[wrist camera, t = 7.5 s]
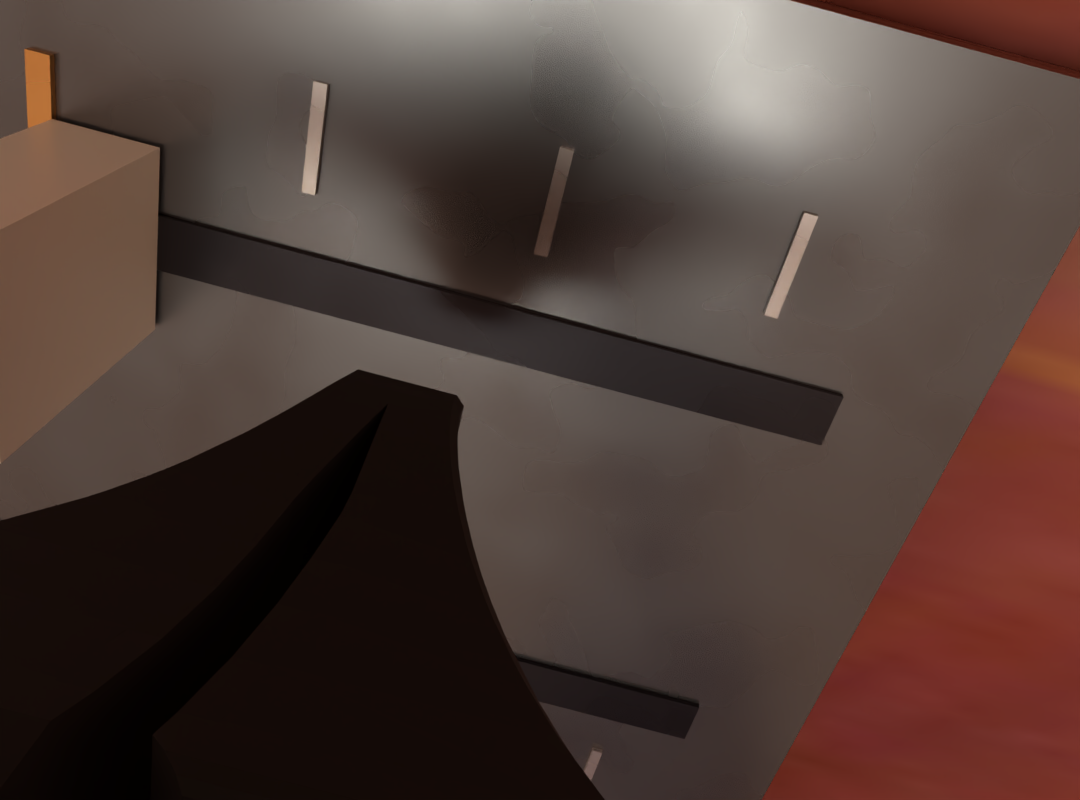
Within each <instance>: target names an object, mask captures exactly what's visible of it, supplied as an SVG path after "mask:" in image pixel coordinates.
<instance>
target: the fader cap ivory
mask: <svg viewBox="0 0 1080 800" xmlns="http://www.w3.org/2000/svg"><path fill="white" fill-rule="evenodd" d="M159 165H160V148H159V147H156V146H152V145H148V144H144V143H141V142H137V141H133V140H129V139H126V138H122V137H118V136H114V135H111V134H107V133H103V132H99V131H95V130H92V129H88V128H84V127H80V126H77V125H73V124H69V123H65V122H62V121H58V120H54V119H51V120H48V121H46V122H43V123H40V124H38V125H35V126H32V127H30V128H27V129H24V130H22V131H19V132H16V133H14V134H11V135H8V136H6V137H3V138H0V464H1V463H2V462H3V461H4V460H5V459H6V458H8V457H9V456H10V455H11V454H12V453H13V452H15V451H16V450H17V449H18V448H19V447H20V446H21V445H23V444H24V443H25V442H26V441H27V440H28V439H29V438H31V437H32V436H33V435H34V434H35V433H36V432H38V431H39V430H40V429H41V428H42V427H43V426H44V425H46V424H47V423H48V422H49V421H50V420H51V419H52V418H54V417H55V416H56V415H57V414H58V413H59V412H61V411H62V410H63V409H64V408H65V407H66V406H67V405H69V404H70V403H71V402H72V401H73V400H74V399H76V398H77V397H78V396H79V395H80V394H81V393H82V392H84V391H85V390H86V389H87V388H88V387H89V386H90V385H92V384H93V383H94V382H95V381H96V380H97V379H99V378H100V377H101V376H102V375H103V374H104V373H105V372H107V371H108V370H109V369H110V368H111V367H112V366H113V365H115V364H116V363H117V362H118V361H119V360H120V359H122V358H123V357H124V356H125V355H126V354H127V353H128V352H130V351H131V350H132V349H133V348H134V347H135V346H136V345H138V344H139V343H140V342H141V341H142V340H143V339H145V338H146V337H147V336H148V335H149V334H150V333H151V332H153V331H154V330H155V312H156V275H157V239H158V202H159Z"/></svg>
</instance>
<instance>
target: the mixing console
mask: <svg viewBox="0 0 1080 800" xmlns="http://www.w3.org/2000/svg"><path fill="white" fill-rule="evenodd" d="M51 119H54V120H58V121H62V122H65V123H69V124H73V125H77V126H80V127H84V128H88V129H92V130H95V131H99V132H103V133H107V134H111V135H114V136H118V137H122V138H126V139H129V140H133V141H137V142H141V143H144V144H148V145H152V146H156V147H159V148H160V165H159V202H158V239H157V275H156V312H155V330H154V331H153V332H151V333H150V334H149V335H148V336H147V337H146V338H145V339H143V340H142V341H141V342H140V343H139V344H138V345H136V346H135V347H134V348H133V349H132V350H131V351H130V352H128V353H127V354H126V355H125V356H124V357H123V358H122V359H120V360H119V361H118V362H117V363H116V364H115V365H113V366H112V367H111V368H110V369H109V370H108V371H107V372H105V373H104V374H103V375H102V376H101V377H100V378H99V379H97V380H96V381H95V382H94V383H93V384H92V385H90V386H89V387H88V388H87V389H86V390H85V391H84V392H82V393H81V394H80V395H79V396H78V397H77V398H76V399H74V400H73V401H72V402H71V403H70V404H69V405H67V406H66V407H65V408H64V409H63V410H62V411H61V412H59V413H58V414H57V415H56V416H55V417H54V418H52V419H51V420H50V421H49V422H48V423H47V424H46V425H44V426H43V427H42V428H41V429H40V430H39V431H38V432H36V433H35V434H34V435H33V436H32V437H31V438H29V439H28V440H27V441H26V442H25V443H24V444H23V445H21V446H20V447H19V448H18V449H17V450H16V451H15V452H13V453H12V454H11V455H10V456H9V457H8V458H6V459H5V460H4V461H3V462H2V463H1V464H0V521H1V520H4V519H8V518H12V517H15V516H19V515H23V514H26V513H30V512H33V511H37V510H41V509H44V508H48V507H52V506H55V505H59V504H63V503H66V502H70V501H74V500H77V499H81V498H84V497H88V496H91V495H94V494H97V493H100V492H103V491H106V490H109V489H112V488H115V487H117V486H120V485H123V484H126V483H129V482H132V481H134V480H137V479H140V478H143V477H146V476H148V475H151V474H153V473H156V472H159V471H161V470H164V469H166V468H169V467H171V466H174V465H176V464H178V463H181V462H183V461H185V460H188V459H190V458H192V457H194V456H196V455H198V454H200V453H203V452H205V451H207V450H209V449H211V448H213V447H215V446H217V445H220V444H222V443H224V442H226V441H228V440H230V439H232V438H234V437H236V436H239V435H241V434H243V433H245V432H247V431H249V430H251V429H252V428H254V427H256V426H258V425H260V424H262V423H264V422H265V421H267V420H269V419H271V418H273V417H275V416H276V415H278V414H280V413H282V412H284V411H286V410H287V409H289V408H291V407H293V406H294V405H296V404H298V403H300V402H301V401H303V400H305V399H307V398H308V397H310V396H312V395H313V394H315V393H317V392H319V391H320V390H322V389H324V388H325V387H327V386H329V385H331V384H332V383H334V382H336V381H338V380H339V379H341V378H343V377H345V376H347V375H349V374H350V373H352V372H354V371H356V370H358V369H359V370H363V371H366V372H370V373H374V374H378V375H382V376H386V377H389V378H393V379H397V380H401V381H405V382H409V383H412V384H416V385H420V386H424V387H428V388H431V389H435V390H439V391H443V392H447V393H451V394H454V395H457V396H458V398H459V399H460V401H461V402H462V404H463V405H464V408H463V413H462V417H461V422H460V426H459V431H458V463H459V473H460V480H461V487H462V495H463V502H464V507H465V512H466V517H467V522H468V526H469V530H470V534H471V539H472V543H473V547H474V550H475V554H476V557H477V561H478V564H479V567H480V571H481V574H482V577H483V580H484V583H485V585H486V588H487V591H488V594H489V597H490V600H491V602H492V605H493V607H494V610H495V612H496V615H497V617H498V619H499V622H500V624H501V627H502V629H503V632H504V634H505V636H506V639H507V641H508V643H509V645H510V647H511V649H512V650H513V652H514V654H515V656H516V658H517V660H518V662H519V664H520V666H521V668H522V670H523V672H524V674H525V676H526V678H527V680H528V682H529V684H530V686H531V688H532V690H533V692H534V694H535V695H536V697H537V699H538V701H539V703H540V705H541V706H542V708H543V709H544V711H545V713H546V714H547V716H548V718H549V719H550V721H551V723H552V724H553V726H554V728H555V729H556V731H557V732H558V734H559V736H560V737H561V739H562V741H563V742H564V744H565V745H566V747H567V748H568V750H569V751H570V753H571V754H572V756H573V757H574V759H575V760H576V761H577V763H578V764H579V765H580V767H581V768H582V770H583V771H584V772H585V774H586V775H587V776H588V778H589V779H590V780H591V782H592V783H593V784H594V786H595V787H596V789H597V790H598V791H599V793H600V794H601V795H602V797H603V798H604V799H605V800H762V798H763V796H764V794H765V792H766V791H767V789H768V787H769V785H770V783H771V782H772V780H773V778H774V776H775V774H776V773H777V771H778V769H779V767H780V765H781V764H782V762H783V760H784V758H785V756H786V755H787V753H788V751H789V749H790V747H791V746H792V744H793V742H794V740H795V738H796V737H797V735H798V733H799V731H800V729H801V727H802V726H803V724H804V722H805V720H806V718H807V717H808V715H809V713H810V711H811V709H812V708H813V706H814V704H815V702H816V700H817V699H818V697H819V695H820V693H821V691H822V690H823V688H824V686H825V684H826V682H827V681H828V679H829V677H830V675H831V673H832V672H833V670H834V668H835V666H836V664H837V663H838V661H839V659H840V657H841V655H842V654H843V652H844V650H845V648H846V646H847V645H848V643H849V641H850V639H851V637H852V635H853V634H854V632H855V630H856V628H857V626H858V625H859V623H860V621H861V619H862V617H863V616H864V614H865V612H866V610H867V608H868V607H869V605H870V603H871V601H872V599H873V598H874V596H875V594H876V592H877V590H878V589H879V587H880V585H881V583H882V581H883V580H884V578H885V576H886V574H887V572H888V571H889V569H890V567H891V565H892V563H893V562H894V560H895V558H896V556H897V554H898V552H899V551H900V549H901V547H902V545H903V543H904V542H905V540H906V538H907V536H908V534H909V533H910V531H911V529H912V527H913V525H914V524H915V522H916V520H917V518H918V516H919V515H920V513H921V511H922V509H923V507H924V506H925V504H926V502H927V500H928V498H929V497H930V495H931V493H932V491H933V489H934V488H935V486H936V484H937V482H938V480H939V479H940V477H941V475H942V473H943V471H944V470H945V468H946V466H947V464H948V462H949V460H950V459H951V457H952V455H953V453H954V451H955V450H956V448H957V446H958V444H959V442H960V441H961V439H962V437H963V435H964V433H965V432H966V430H967V428H968V426H969V424H970V423H971V421H972V419H973V417H974V415H975V414H976V412H977V410H978V408H979V406H980V405H981V403H982V401H983V399H984V397H985V396H986V394H987V392H988V390H989V388H990V387H991V385H992V383H993V381H994V379H995V377H996V376H997V374H998V372H999V370H1000V368H1001V367H1002V365H1003V363H1004V361H1005V359H1006V358H1007V356H1008V354H1009V352H1010V350H1011V349H1012V347H1013V345H1014V343H1015V341H1016V340H1017V338H1018V336H1019V334H1020V332H1021V331H1022V329H1023V327H1024V325H1025V323H1026V322H1027V320H1028V318H1029V316H1030V314H1031V313H1032V311H1033V309H1034V307H1035V305H1036V304H1037V302H1038V300H1039V298H1040V296H1041V294H1042V293H1043V291H1044V289H1045V287H1046V285H1047V284H1048V282H1049V280H1050V278H1051V276H1052V275H1053V273H1054V271H1055V269H1056V267H1057V266H1058V264H1059V262H1060V260H1061V258H1062V257H1063V255H1064V253H1065V251H1066V249H1067V248H1068V246H1069V244H1070V242H1071V240H1072V239H1073V237H1074V235H1075V233H1076V231H1077V230H1078V228H1079V226H1080V72H1079V71H1076V70H1072V69H1068V68H1065V67H1061V66H1057V65H1054V64H1050V63H1046V62H1043V61H1039V60H1035V59H1031V58H1028V57H1024V56H1020V55H1017V54H1013V53H1009V52H1006V51H1002V50H998V49H995V48H991V47H987V46H984V45H980V44H976V43H973V42H969V41H965V40H962V39H958V38H954V37H951V36H947V35H943V34H939V33H936V32H932V31H928V30H925V29H921V28H917V27H914V26H910V25H906V24H903V23H899V22H895V21H892V20H888V19H884V18H881V17H877V16H873V15H870V14H866V13H862V12H859V11H855V10H851V9H847V8H844V7H840V6H836V5H833V4H829V3H825V2H822V1H818V0H0V138H3V137H6V136H8V135H11V134H14V133H16V132H19V131H22V130H24V129H27V128H30V127H32V126H35V125H38V124H40V123H43V122H46V121H48V120H51Z"/></svg>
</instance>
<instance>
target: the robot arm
mask: <svg viewBox="0 0 1080 800" xmlns="http://www.w3.org/2000/svg"><path fill="white" fill-rule="evenodd" d="M463 408H464V405H463V404H462V402H461V401H460V399H459V398H458V396H457V395H454V394H451V393H447V392H443V391H439V390H435V389H431V388H428V387H424V386H420V385H416V384H412V383H409V382H405V381H401V380H397V379H393V378H389V377H386V376H382V375H378V374H374V373H370V372H366V371H363V370H359V369H358V370H356V371H354V372H352V373H350V374H349V375H347V376H345V377H343V378H341V379H339V380H338V381H336V382H334V383H332V384H331V385H329V386H327V387H325V388H324V389H322V390H320V391H319V392H317V393H315V394H313V395H312V396H310V397H308V398H307V399H305V400H303V401H301V402H300V403H298V404H296V405H294V406H293V407H291V408H289V409H287V410H286V411H284V412H282V413H280V414H278V415H276V416H275V417H273V418H271V419H269V420H267V421H265V422H264V423H262V424H260V425H258V426H256V427H254V428H252V429H251V430H249V431H247V432H245V433H243V434H241V435H239V436H236V437H234V438H232V439H230V440H228V441H226V442H224V443H222V444H220V445H217V446H215V447H213V448H211V449H209V450H207V451H205V452H203V453H200V454H198V455H196V456H194V457H192V458H190V459H188V460H185V461H183V462H181V463H178V464H176V465H174V466H171V467H169V468H166V469H164V470H161V471H159V472H156V473H153V474H151V475H148V476H146V477H143V478H140V479H137V480H134V481H132V482H129V483H126V484H123V485H120V486H117V487H115V488H112V489H109V490H106V491H103V492H100V493H97V494H94V495H91V496H88V497H84V498H81V499H77V500H74V501H70V502H66V503H63V504H59V505H55V506H52V507H48V508H44V509H41V510H37V511H33V512H30V513H26V514H23V515H19V516H15V517H12V518H8V519H4V520H1V521H0V800H605V799H604V798H603V797H602V795H601V794H600V793H599V791H598V790H597V789H596V787H595V786H594V784H593V783H592V782H591V780H590V779H589V778H588V776H587V775H586V774H585V772H584V771H583V770H582V768H581V767H580V765H579V764H578V763H577V761H576V760H575V759H574V757H573V756H572V754H571V753H570V751H569V750H568V748H567V747H566V745H565V744H564V742H563V741H562V739H561V737H560V736H559V734H558V732H557V731H556V729H555V728H554V726H553V724H552V723H551V721H550V719H549V718H548V716H547V714H546V713H545V711H544V709H543V708H542V706H541V705H540V703H539V701H538V699H537V697H536V695H535V694H534V692H533V690H532V688H531V686H530V684H529V682H528V680H527V678H526V676H525V674H524V672H523V670H522V668H521V666H520V664H519V662H518V660H517V658H516V656H515V654H514V652H513V650H512V649H511V647H510V645H509V643H508V641H507V639H506V636H505V634H504V632H503V629H502V627H501V624H500V622H499V619H498V617H497V615H496V612H495V610H494V607H493V605H492V602H491V600H490V597H489V594H488V591H487V588H486V585H485V583H484V580H483V577H482V574H481V571H480V567H479V564H478V561H477V557H476V554H475V550H474V547H473V543H472V539H471V534H470V530H469V526H468V522H467V517H466V512H465V507H464V502H463V495H462V487H461V480H460V473H459V463H458V431H459V426H460V422H461V417H462V413H463Z"/></svg>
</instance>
